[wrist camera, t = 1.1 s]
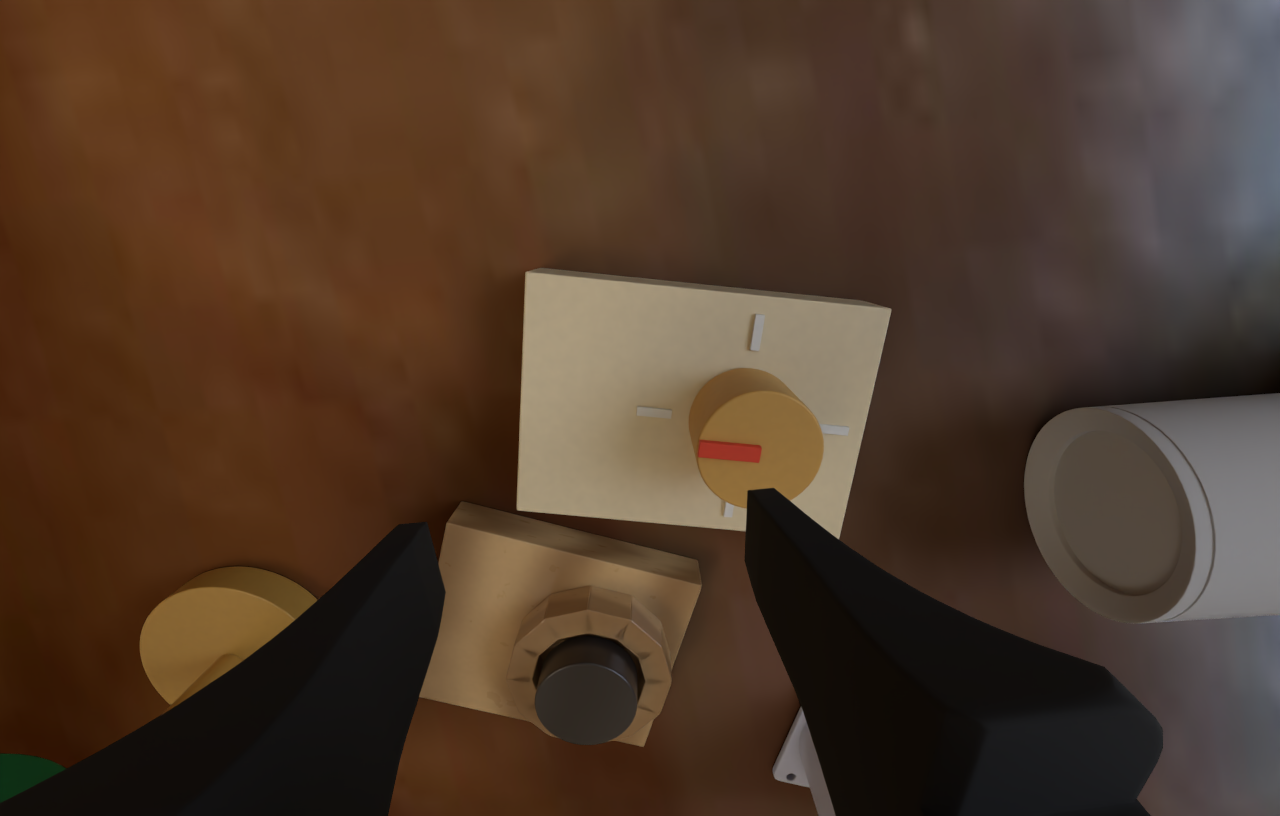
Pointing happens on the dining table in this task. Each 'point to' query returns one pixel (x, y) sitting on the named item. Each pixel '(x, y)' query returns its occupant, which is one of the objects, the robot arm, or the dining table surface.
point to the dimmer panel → (677, 390)
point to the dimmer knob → (753, 436)
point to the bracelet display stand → (193, 644)
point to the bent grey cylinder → (1162, 507)
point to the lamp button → (587, 690)
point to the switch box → (551, 611)
